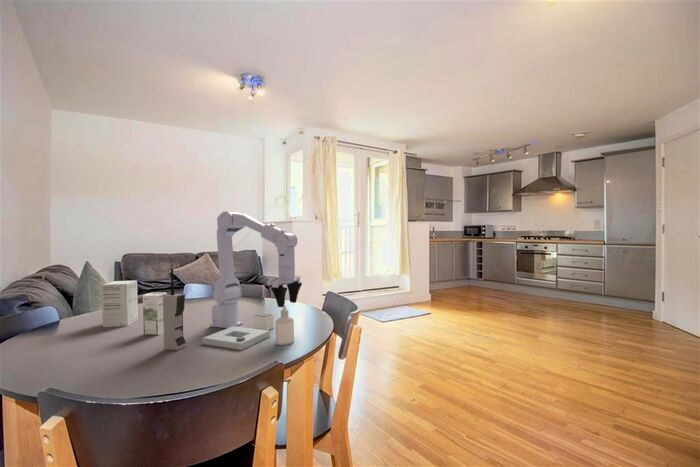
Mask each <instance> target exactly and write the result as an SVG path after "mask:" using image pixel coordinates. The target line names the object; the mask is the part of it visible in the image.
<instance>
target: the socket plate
mask: <svg viewBox="0 0 700 467" xmlns="http://www.w3.org/2000/svg"><path fill="white" fill-rule="evenodd" d="M270 337H271V333H270V330H260V329H254V328H251V327H250V328H249V327H242V326H233V327H230V328H224V329H223V330H219V331H217V332H214V333H212V334H208V335H207V336H206V335H205V336H203V337H202V338H201V339H202V341H201V342H202V345H207V346H214V347H219V348H225V349H233V350H238V351H243V350H244V349H246V348H249V347H251V346H253V345H255V344H257V343H259V342H261V341H263V340H265V339H267V338H270Z"/></svg>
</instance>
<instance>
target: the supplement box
mask: <svg viewBox="0 0 700 467" xmlns="http://www.w3.org/2000/svg"><path fill="white" fill-rule="evenodd" d="M101 308H102V309H101V311H102V312H101V313H102V328H113V327H114V328H115V327H128V326H130V325H132V324H134V323H135V322H137V321H138V320H139V308H138V280H114V281H110V282H107V283H104V284H101Z"/></svg>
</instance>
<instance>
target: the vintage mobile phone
mask: <svg viewBox="0 0 700 467" xmlns="http://www.w3.org/2000/svg"><path fill="white" fill-rule="evenodd" d="M170 275H171V276H170V280H171V281H170V293H169V294H167V295H166V296H163V323H164V333H163V350H166V351H180V350H181V349H184V348H185V347H187V342H186V339H185V337H184V310H185V306H186V305H185V301H186V294H185V293H175V283H174V269H173V268H171V269H170Z"/></svg>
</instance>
